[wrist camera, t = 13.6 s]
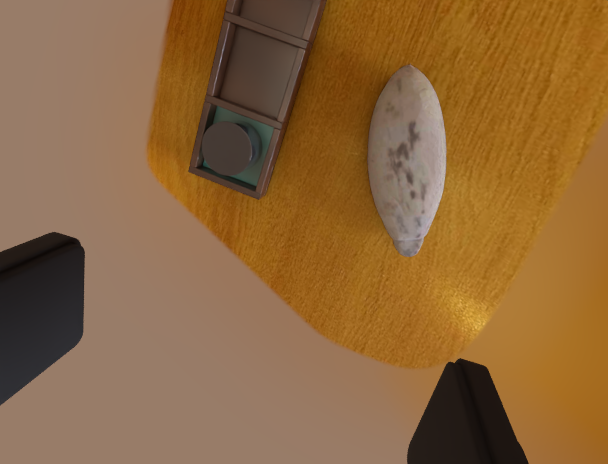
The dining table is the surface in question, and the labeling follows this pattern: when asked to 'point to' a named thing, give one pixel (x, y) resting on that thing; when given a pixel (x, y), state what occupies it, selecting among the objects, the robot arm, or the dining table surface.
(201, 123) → the divided tray
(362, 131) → the dining table surface
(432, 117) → the decorative stone
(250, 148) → the dark gray cylinder
